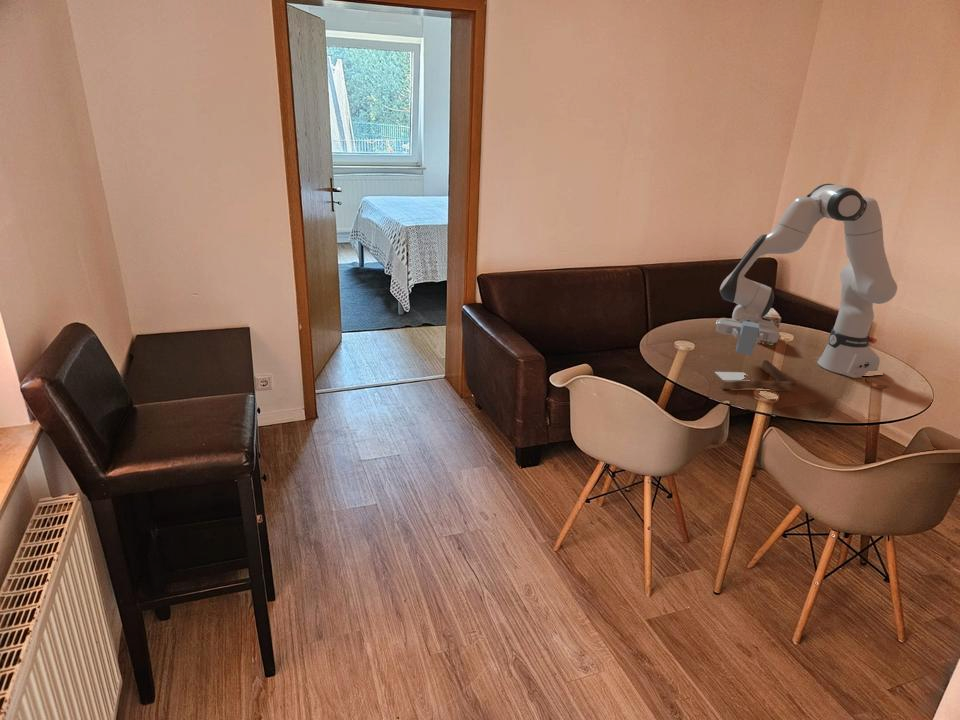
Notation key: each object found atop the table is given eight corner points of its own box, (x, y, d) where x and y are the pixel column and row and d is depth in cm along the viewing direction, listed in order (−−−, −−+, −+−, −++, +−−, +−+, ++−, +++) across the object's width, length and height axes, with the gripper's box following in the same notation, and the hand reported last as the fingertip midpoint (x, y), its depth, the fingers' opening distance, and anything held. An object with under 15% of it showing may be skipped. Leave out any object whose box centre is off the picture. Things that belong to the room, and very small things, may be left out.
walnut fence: (765, 367, 223) (767, 360, 222) (793, 391, 206) (796, 383, 205) (699, 366, 220) (701, 358, 219) (722, 389, 203) (725, 381, 202)
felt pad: (743, 373, 217) (743, 372, 217) (759, 386, 207) (759, 386, 207) (714, 372, 216) (714, 371, 216) (728, 386, 206) (729, 385, 206)
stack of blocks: (746, 326, 265) (753, 299, 260) (761, 328, 264) (768, 301, 259) (757, 344, 246) (765, 315, 240) (773, 346, 245) (781, 317, 240)
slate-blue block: (751, 350, 209) (758, 323, 205) (751, 355, 204) (759, 328, 200) (735, 347, 210) (743, 320, 206) (736, 352, 206) (743, 325, 202)
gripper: (717, 311, 218) (717, 323, 206) (778, 321, 212) (782, 334, 200) (713, 327, 220) (713, 340, 208) (773, 338, 215) (777, 351, 203)
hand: (747, 337), depth 204 cm, fingers closed on slate-blue block, 5 cm apart
